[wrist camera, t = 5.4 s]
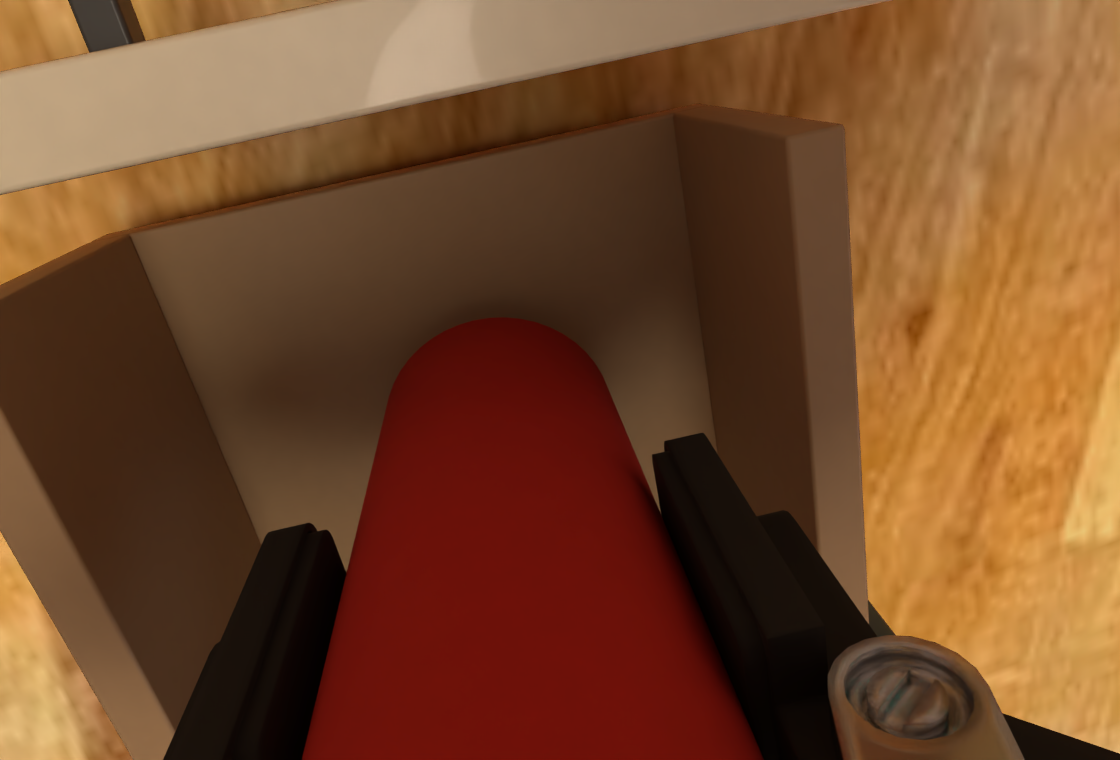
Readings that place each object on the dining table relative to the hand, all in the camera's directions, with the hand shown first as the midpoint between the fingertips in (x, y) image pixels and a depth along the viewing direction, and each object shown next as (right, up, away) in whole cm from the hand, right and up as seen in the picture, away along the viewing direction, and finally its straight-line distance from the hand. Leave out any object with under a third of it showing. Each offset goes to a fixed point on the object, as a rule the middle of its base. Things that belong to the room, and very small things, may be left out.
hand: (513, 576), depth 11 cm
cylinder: (-1, +2, +4) cm, 5 cm away
